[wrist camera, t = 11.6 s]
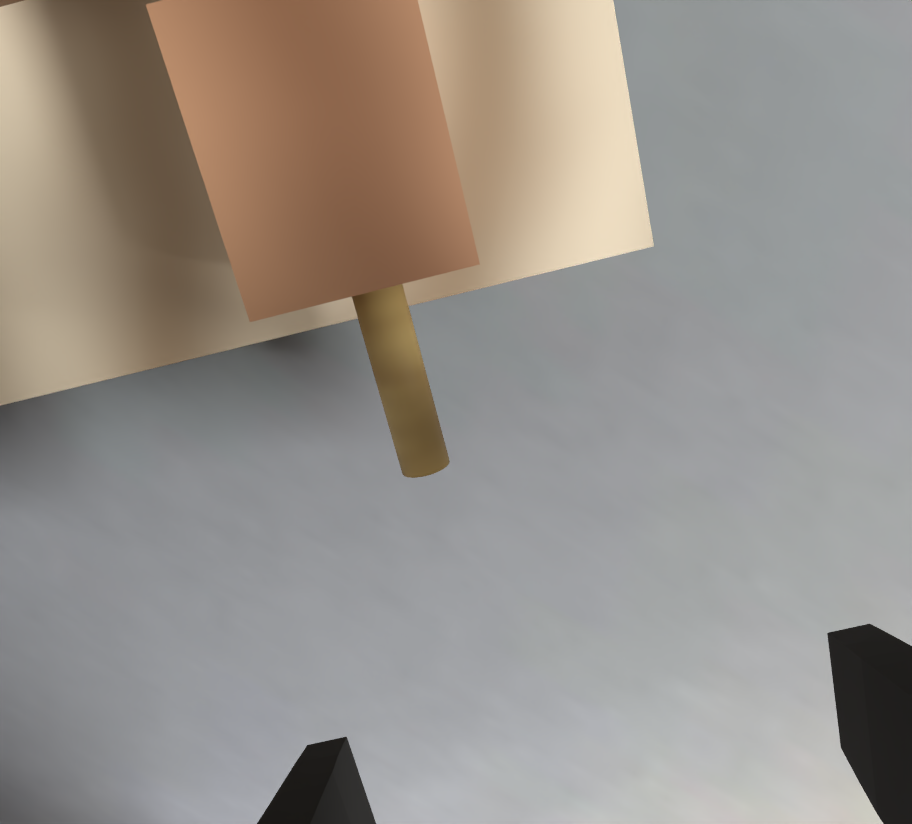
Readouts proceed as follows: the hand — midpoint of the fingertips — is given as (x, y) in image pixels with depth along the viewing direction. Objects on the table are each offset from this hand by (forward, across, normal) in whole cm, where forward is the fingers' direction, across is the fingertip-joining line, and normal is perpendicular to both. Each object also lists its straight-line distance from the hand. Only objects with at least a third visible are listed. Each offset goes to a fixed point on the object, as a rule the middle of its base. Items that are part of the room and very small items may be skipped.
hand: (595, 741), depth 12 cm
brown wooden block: (+9, +2, -7) cm, 11 cm away
